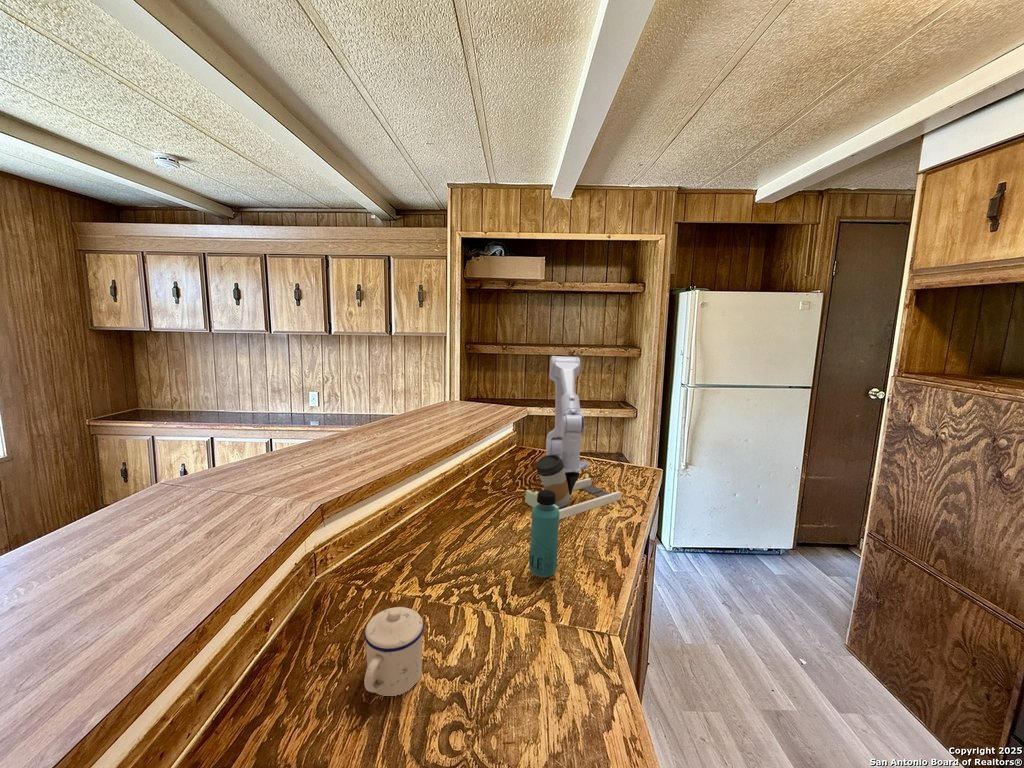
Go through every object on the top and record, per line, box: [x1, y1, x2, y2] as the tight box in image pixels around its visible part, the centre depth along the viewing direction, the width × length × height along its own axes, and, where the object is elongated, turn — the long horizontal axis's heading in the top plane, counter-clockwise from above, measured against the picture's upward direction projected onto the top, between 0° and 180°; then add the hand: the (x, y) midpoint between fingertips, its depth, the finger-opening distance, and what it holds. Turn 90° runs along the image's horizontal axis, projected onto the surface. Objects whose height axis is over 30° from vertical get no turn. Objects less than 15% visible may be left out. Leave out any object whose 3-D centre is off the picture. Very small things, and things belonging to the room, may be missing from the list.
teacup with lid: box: [363, 606, 425, 697], centre depth 69 cm, size 12×9×12 cm
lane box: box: [534, 477, 622, 521], centre depth 139 cm, size 14×28×2 cm, turn 126°
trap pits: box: [581, 484, 611, 498], centre depth 146 cm, size 11×5×1 cm, turn 36°
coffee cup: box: [535, 454, 571, 509], centre depth 133 cm, size 8×8×15 cm
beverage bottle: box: [528, 489, 560, 578], centre depth 98 cm, size 6×7×20 cm
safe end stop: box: [524, 489, 560, 510], centre depth 131 cm, size 14×1×4 cm, turn 36°
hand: (567, 494), depth 137 cm, fingers closed, pressing on coffee cup
